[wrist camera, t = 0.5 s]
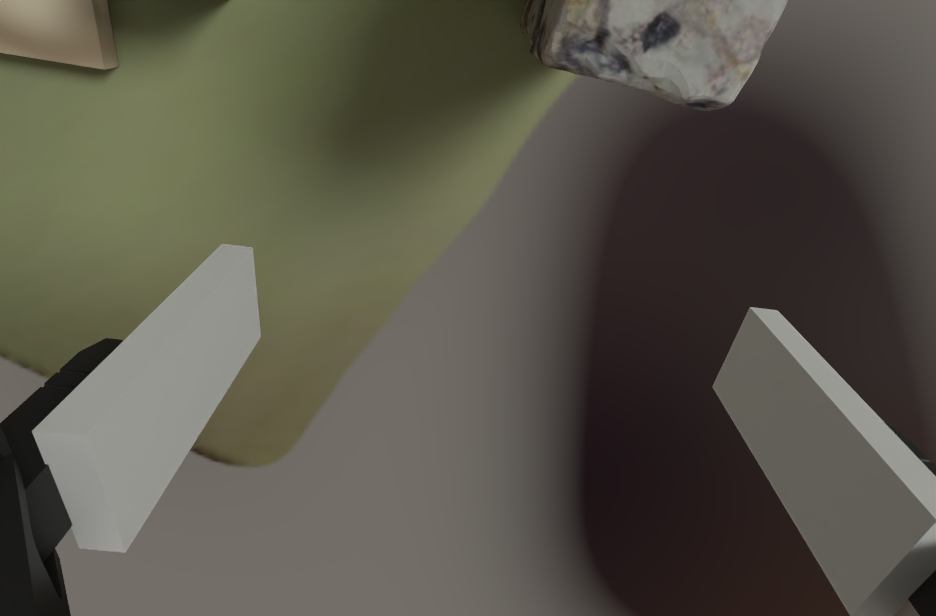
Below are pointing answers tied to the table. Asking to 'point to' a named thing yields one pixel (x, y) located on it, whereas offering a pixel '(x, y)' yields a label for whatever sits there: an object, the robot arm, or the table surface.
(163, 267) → the table surface
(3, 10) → the board
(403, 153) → the table surface
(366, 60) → the table surface
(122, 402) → the robot arm
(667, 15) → the stone block
